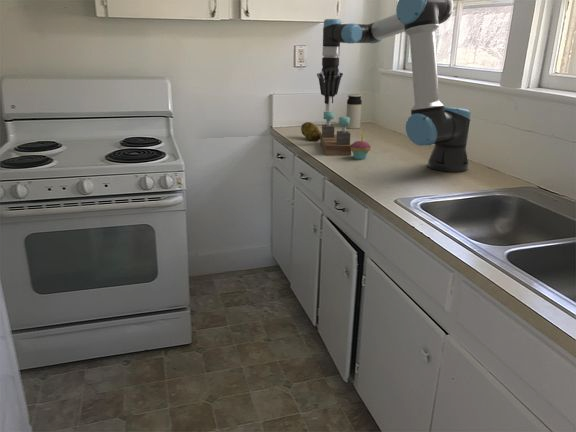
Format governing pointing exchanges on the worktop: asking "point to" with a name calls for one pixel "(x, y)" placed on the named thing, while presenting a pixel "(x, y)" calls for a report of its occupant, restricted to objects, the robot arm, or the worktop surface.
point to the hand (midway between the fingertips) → (328, 110)
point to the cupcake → (360, 148)
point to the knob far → (328, 117)
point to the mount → (335, 141)
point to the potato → (310, 131)
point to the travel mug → (354, 110)
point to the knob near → (344, 123)
